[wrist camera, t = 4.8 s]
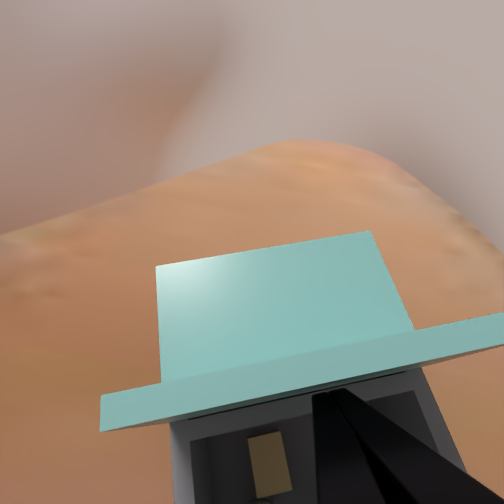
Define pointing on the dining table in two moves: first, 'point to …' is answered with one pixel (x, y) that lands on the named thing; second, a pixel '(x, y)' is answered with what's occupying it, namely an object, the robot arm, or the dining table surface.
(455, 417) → the dining table surface
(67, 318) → the dining table surface
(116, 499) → the dining table surface
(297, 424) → the tub
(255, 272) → the lid
